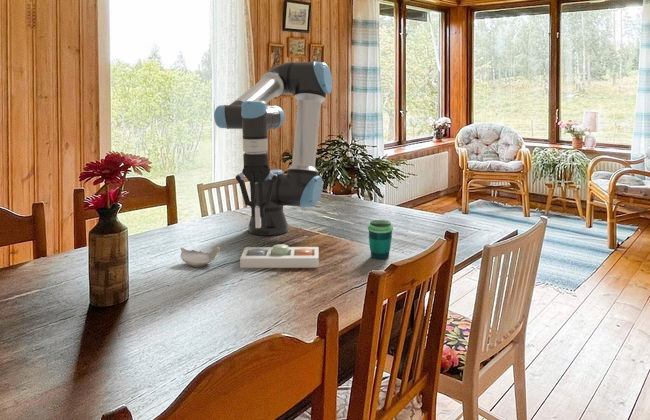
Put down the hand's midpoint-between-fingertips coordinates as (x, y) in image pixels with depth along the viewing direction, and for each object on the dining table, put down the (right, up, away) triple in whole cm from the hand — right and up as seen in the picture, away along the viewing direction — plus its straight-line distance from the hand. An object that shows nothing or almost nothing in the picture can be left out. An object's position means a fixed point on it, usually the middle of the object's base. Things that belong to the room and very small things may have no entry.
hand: (258, 226), depth 174 cm
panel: (+7, -11, +2) cm, 13 cm away
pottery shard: (-18, -12, -1) cm, 22 cm away
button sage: (+7, -8, +1) cm, 11 cm away
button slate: (-1, -10, +1) cm, 10 cm away
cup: (+39, -10, +5) cm, 40 cm away
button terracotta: (+14, -10, +1) cm, 17 cm away
